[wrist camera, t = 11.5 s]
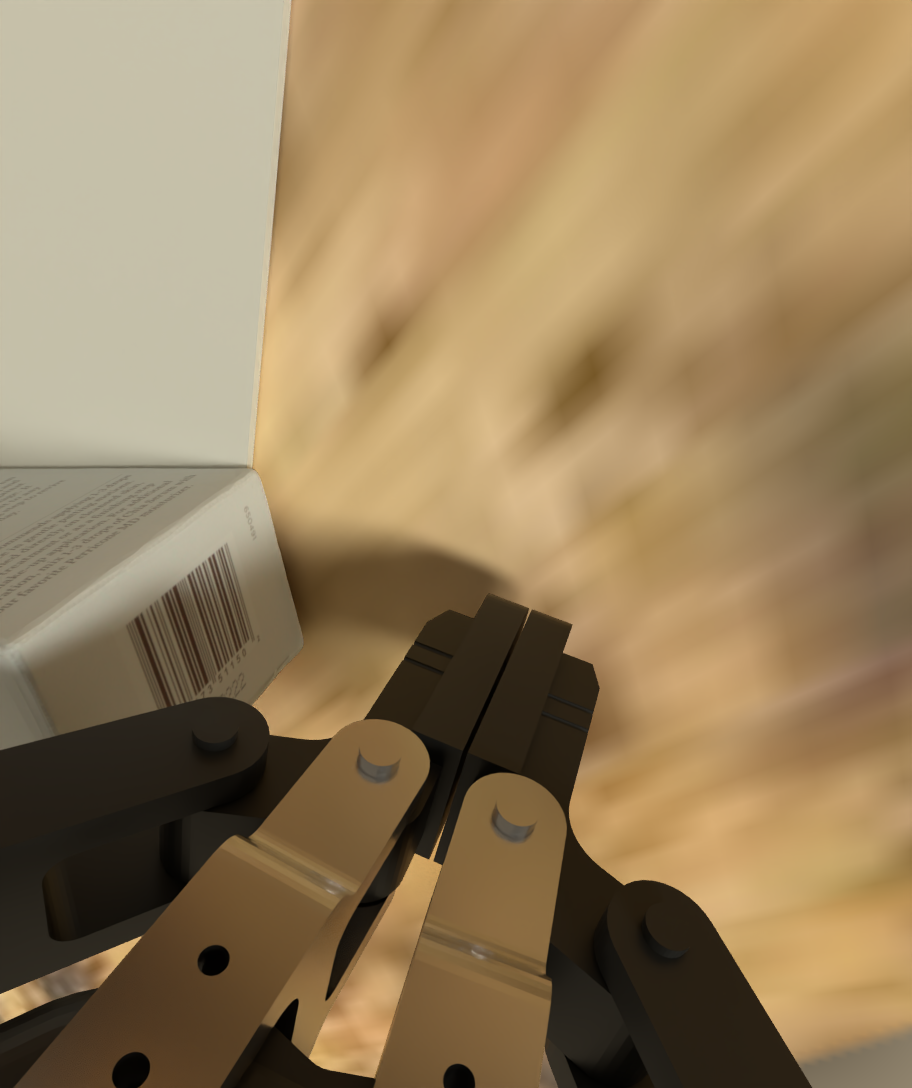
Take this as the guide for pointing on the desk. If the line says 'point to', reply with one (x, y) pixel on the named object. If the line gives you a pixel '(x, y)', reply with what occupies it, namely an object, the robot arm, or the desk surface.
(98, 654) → the skincare box
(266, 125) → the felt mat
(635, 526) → the desk surface
